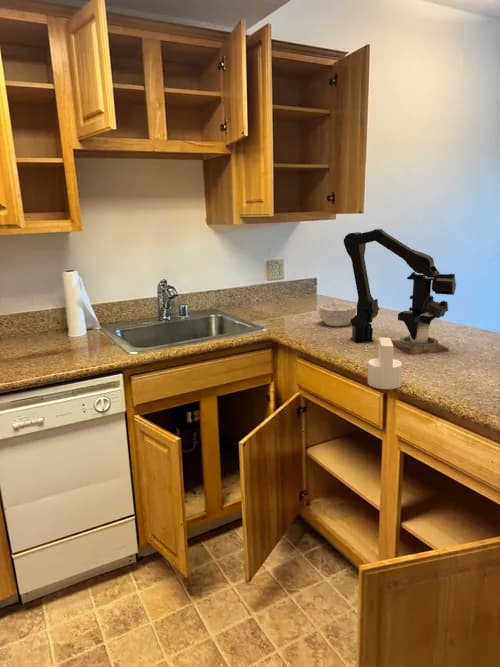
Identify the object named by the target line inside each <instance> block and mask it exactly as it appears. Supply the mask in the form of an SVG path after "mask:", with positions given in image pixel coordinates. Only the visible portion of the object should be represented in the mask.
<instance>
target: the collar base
mask: <svg viewBox="0 0 500 667" xmlns="http://www.w3.org/2000/svg"><path fill="white" fill-rule="evenodd" d="M391 341H392V344H393V347H396V348H397V349H399V350H400V351H403V352H404V353H406V354H408V355H419V354H421V355H422V354H432V353H445V352H449V349H450V348H449V347H446V346H444V345H442V344H441V343H439V340H438V339H437V338H434V337H430V336H428V344H413V343H409V341H410V335H406V336H403V337H400V338H399V339H398V340H391Z"/></svg>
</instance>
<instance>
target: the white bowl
mask: <svg viewBox="0 0 500 667" xmlns="http://www.w3.org/2000/svg"><path fill="white" fill-rule="evenodd" d="M318 309H319V318H320V319H321V320H323V321H324V324H325V325H327V326H330V327H345V326H348V325H350V324H351V321H350V320H351V319H353V318H354V317H355V316H356V315H357V305H356V306H355V305H354V304H351V303H345V302H331V303H323V304H320V306H319V308H318Z"/></svg>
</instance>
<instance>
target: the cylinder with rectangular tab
mask: <svg viewBox="0 0 500 667" xmlns="http://www.w3.org/2000/svg"><path fill="white" fill-rule="evenodd" d="M392 341H393V340H391V338H390V337H378V348H377V349H378V352H377V354H378V355H377V357H376V358H372V359H370V360H368V362H367V384H368V385H369V386H370V387H372V388H376V389H380V390H381V389H382V390H394V389H398V388H400V387H401V386H402V374H403V362H401V361H400V360H398V359H394V345H393V344H392Z"/></svg>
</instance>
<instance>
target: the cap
mask: <svg viewBox="0 0 500 667" xmlns="http://www.w3.org/2000/svg"><path fill="white" fill-rule="evenodd" d="M429 327H430V325H428V324H425V323H420V324H419V325H418V330H417V336H416V339H415V340H414V339H412V337H411V335H410V334H409V336H410V341H409V343H413V344H428V337H429V329H430V328H429Z"/></svg>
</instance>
